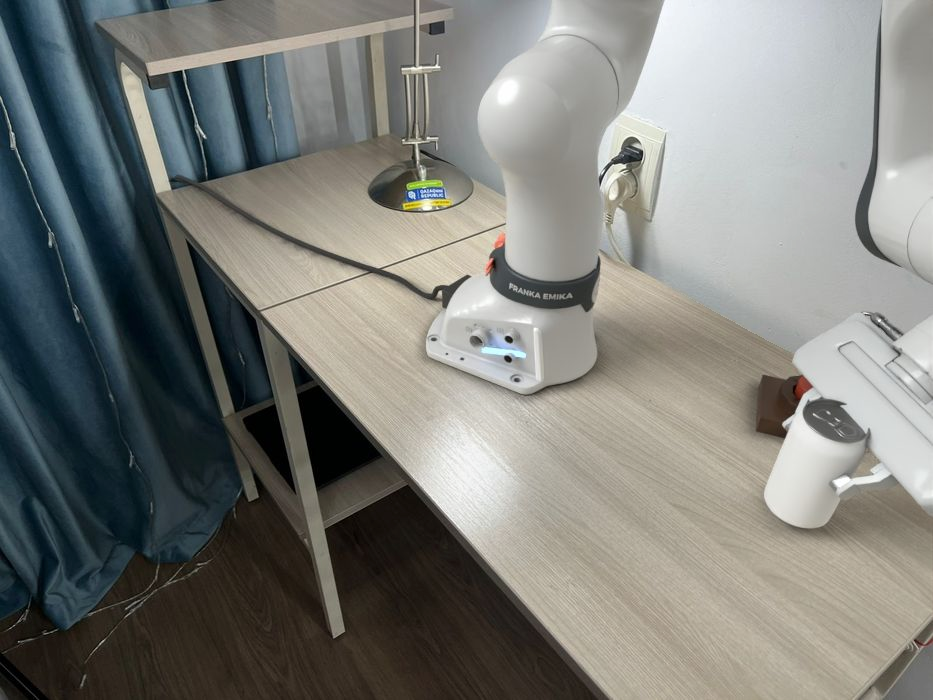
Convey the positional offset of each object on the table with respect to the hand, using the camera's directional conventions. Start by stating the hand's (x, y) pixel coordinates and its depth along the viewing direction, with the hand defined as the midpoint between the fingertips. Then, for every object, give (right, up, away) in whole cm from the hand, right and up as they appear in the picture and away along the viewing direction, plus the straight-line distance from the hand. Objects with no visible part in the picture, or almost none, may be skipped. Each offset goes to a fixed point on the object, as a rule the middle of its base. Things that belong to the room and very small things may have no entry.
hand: (811, 461), depth 66 cm
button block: (+7, +2, +16) cm, 17 cm away
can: (+1, -5, +4) cm, 7 cm away
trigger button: (+7, +5, +14) cm, 16 cm away
